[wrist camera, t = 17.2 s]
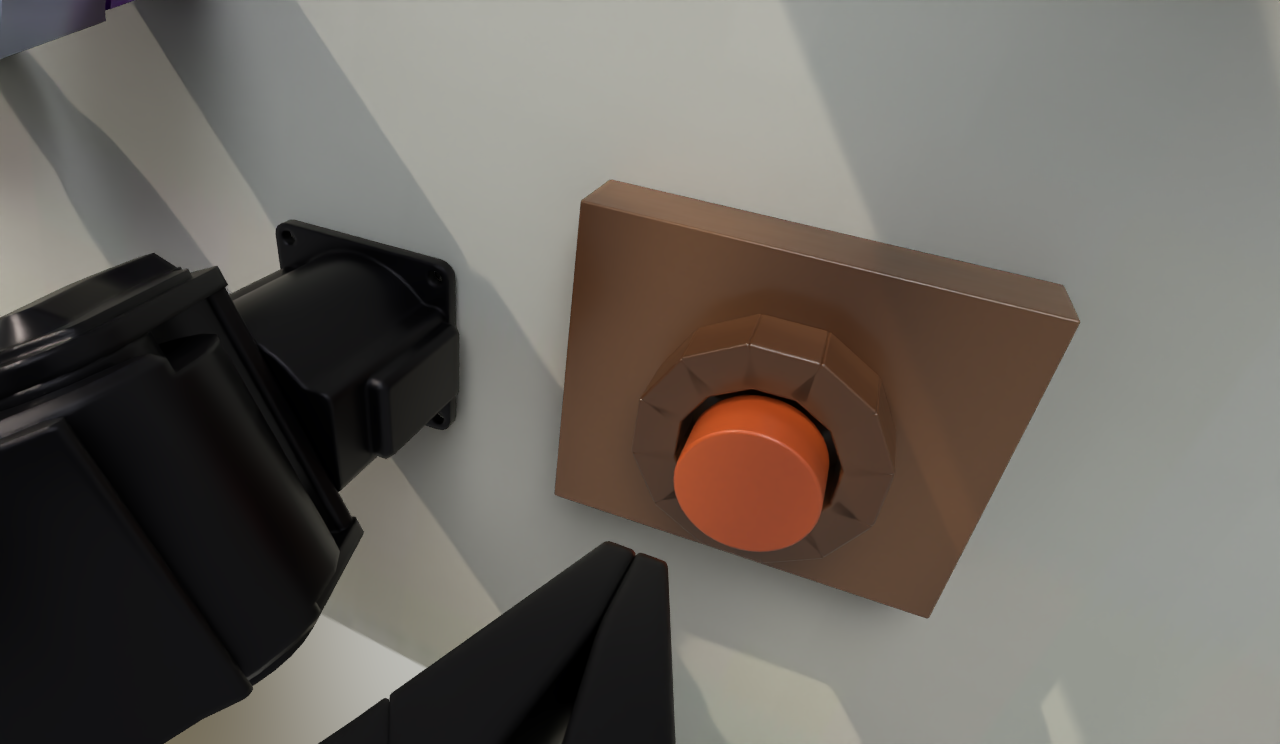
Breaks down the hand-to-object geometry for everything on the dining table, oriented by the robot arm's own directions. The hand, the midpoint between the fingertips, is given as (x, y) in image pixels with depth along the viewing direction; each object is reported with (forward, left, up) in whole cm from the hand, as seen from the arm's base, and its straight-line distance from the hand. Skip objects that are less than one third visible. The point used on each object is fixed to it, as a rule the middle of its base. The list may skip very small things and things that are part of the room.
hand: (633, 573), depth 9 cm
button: (+1, -4, -9) cm, 10 cm away
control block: (+1, -4, -13) cm, 13 cm away
